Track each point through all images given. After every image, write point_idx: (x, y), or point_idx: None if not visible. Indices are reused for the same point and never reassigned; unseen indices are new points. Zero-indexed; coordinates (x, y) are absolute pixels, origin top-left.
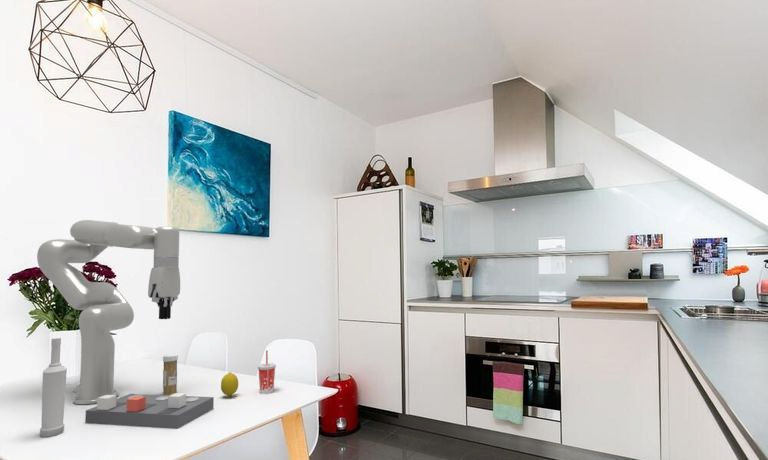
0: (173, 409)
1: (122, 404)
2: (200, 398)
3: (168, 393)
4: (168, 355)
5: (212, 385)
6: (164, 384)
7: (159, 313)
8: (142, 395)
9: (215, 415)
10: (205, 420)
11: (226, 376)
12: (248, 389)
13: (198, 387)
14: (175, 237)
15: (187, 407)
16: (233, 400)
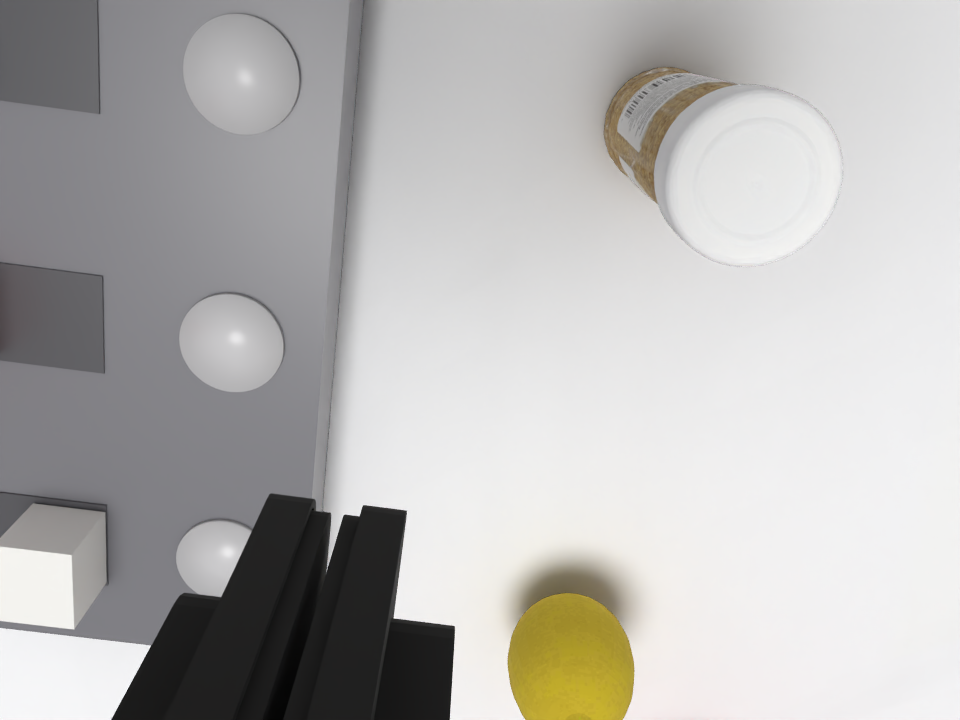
0: None
1: (50, 101)
2: None
3: (610, 148)
4: (727, 171)
5: (898, 362)
6: (621, 117)
7: (234, 589)
8: (276, 125)
9: None
10: (122, 653)
11: (539, 706)
12: (733, 661)
13: (853, 270)
14: None
15: None
16: (483, 659)
